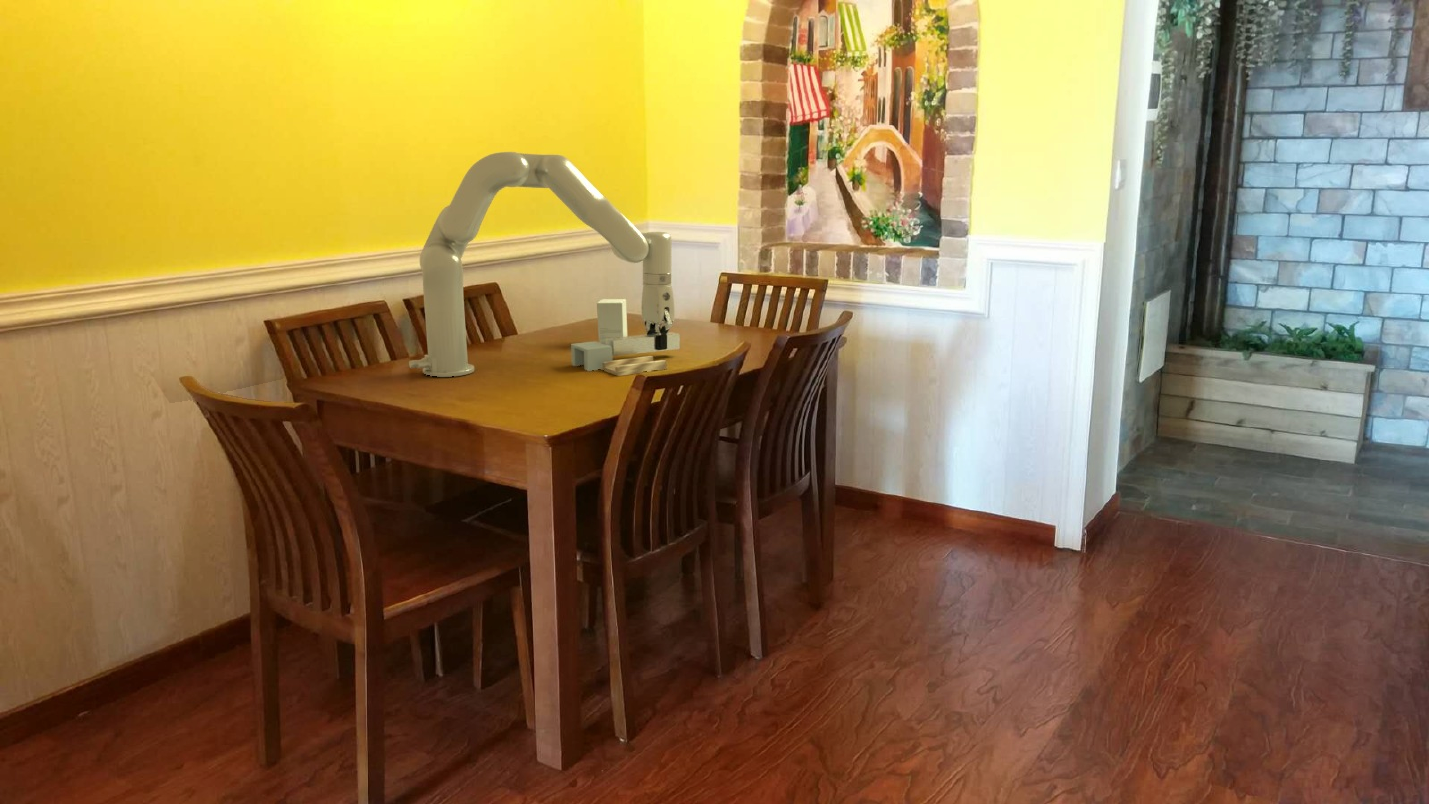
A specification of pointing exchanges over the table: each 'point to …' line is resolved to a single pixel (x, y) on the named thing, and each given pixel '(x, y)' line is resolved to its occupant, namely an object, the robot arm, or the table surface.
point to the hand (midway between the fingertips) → (656, 347)
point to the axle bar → (641, 343)
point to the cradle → (633, 365)
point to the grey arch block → (590, 355)
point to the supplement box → (611, 319)
